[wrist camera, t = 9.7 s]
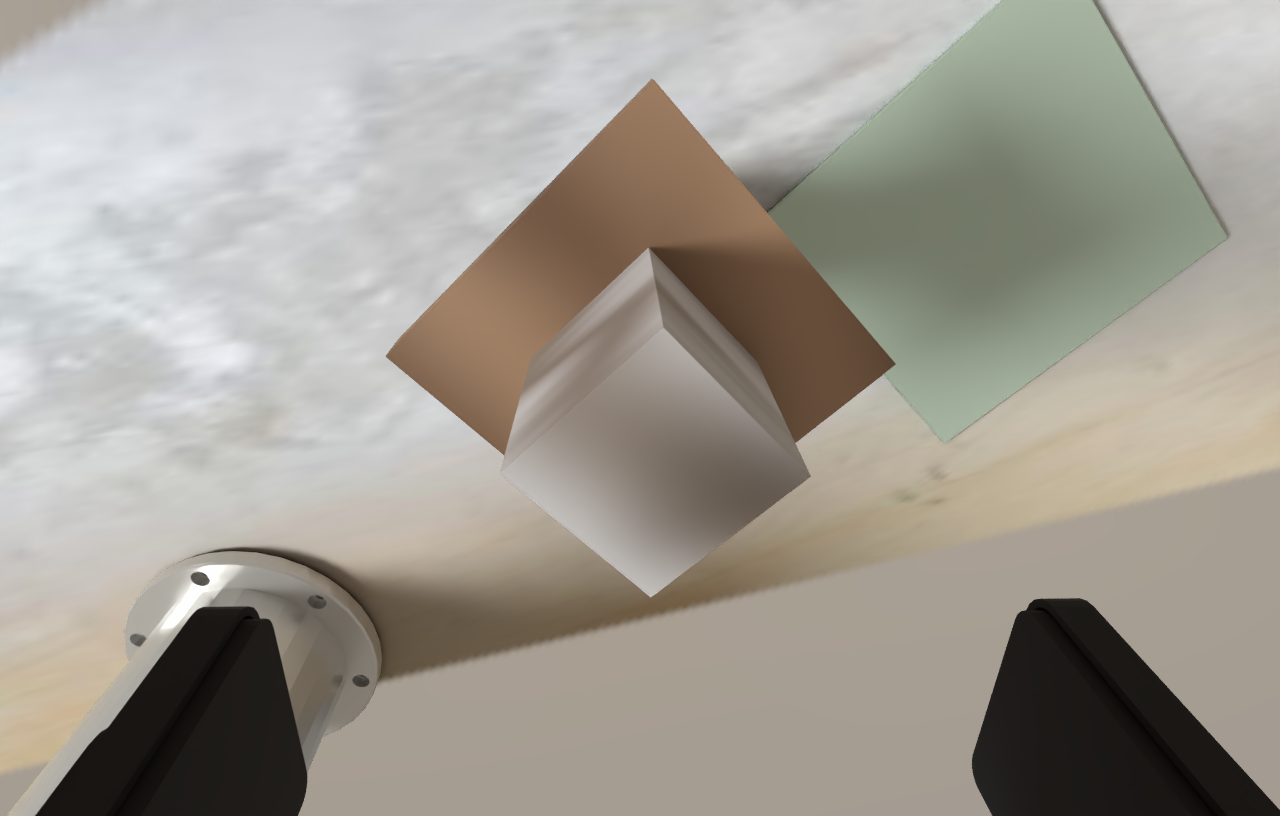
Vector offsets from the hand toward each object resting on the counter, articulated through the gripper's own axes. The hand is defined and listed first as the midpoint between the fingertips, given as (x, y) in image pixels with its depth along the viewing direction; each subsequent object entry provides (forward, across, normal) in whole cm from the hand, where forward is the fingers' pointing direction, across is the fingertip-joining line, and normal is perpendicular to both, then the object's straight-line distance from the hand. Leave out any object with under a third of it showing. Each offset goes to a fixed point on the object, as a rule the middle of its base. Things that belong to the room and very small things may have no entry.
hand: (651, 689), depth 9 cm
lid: (+11, 0, -1) cm, 11 cm away
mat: (+23, -16, -2) cm, 28 cm away
